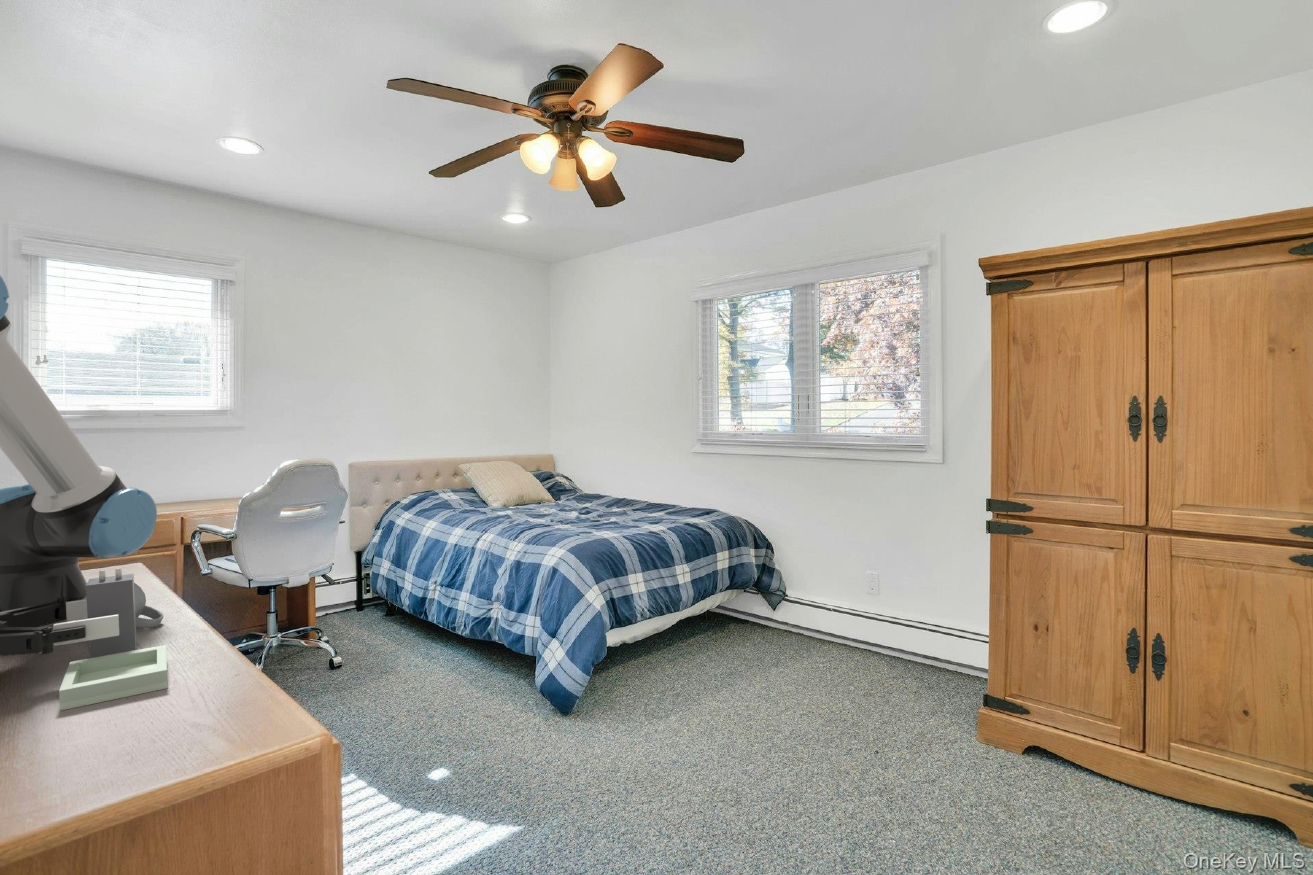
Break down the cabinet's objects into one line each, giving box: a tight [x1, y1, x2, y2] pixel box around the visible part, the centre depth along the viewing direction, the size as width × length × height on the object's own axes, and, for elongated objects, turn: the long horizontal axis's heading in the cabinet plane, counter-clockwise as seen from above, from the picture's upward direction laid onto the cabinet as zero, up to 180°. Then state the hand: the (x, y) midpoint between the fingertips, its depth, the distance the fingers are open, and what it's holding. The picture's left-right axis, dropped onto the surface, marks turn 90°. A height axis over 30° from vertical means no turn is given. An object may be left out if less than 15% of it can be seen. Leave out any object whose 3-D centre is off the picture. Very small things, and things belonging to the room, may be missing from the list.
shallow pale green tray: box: [58, 644, 169, 712], centre depth 85 cm, size 12×10×2 cm
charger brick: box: [86, 567, 138, 659], centre depth 95 cm, size 5×5×12 cm
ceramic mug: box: [74, 582, 164, 629], centre depth 108 cm, size 11×8×8 cm
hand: (121, 613), depth 95 cm, fingers open, 13 cm apart
